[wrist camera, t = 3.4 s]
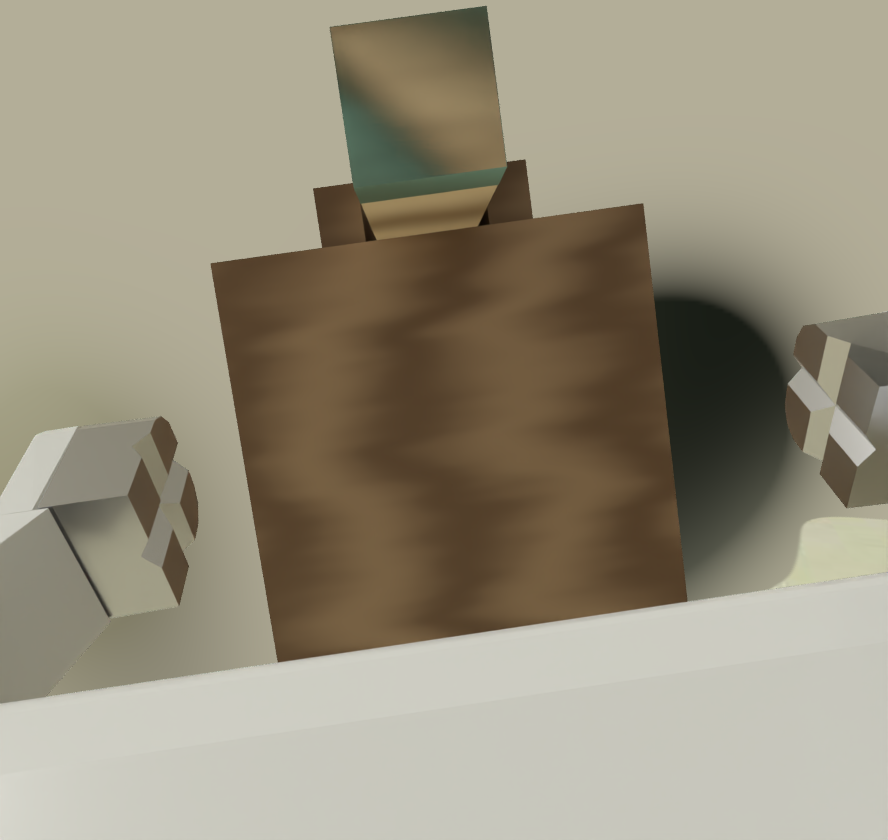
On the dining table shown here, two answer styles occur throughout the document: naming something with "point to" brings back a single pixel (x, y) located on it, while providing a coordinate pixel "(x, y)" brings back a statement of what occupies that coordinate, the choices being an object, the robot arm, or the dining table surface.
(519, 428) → the walnut mount
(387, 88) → the oak bar
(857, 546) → the dining table surface
